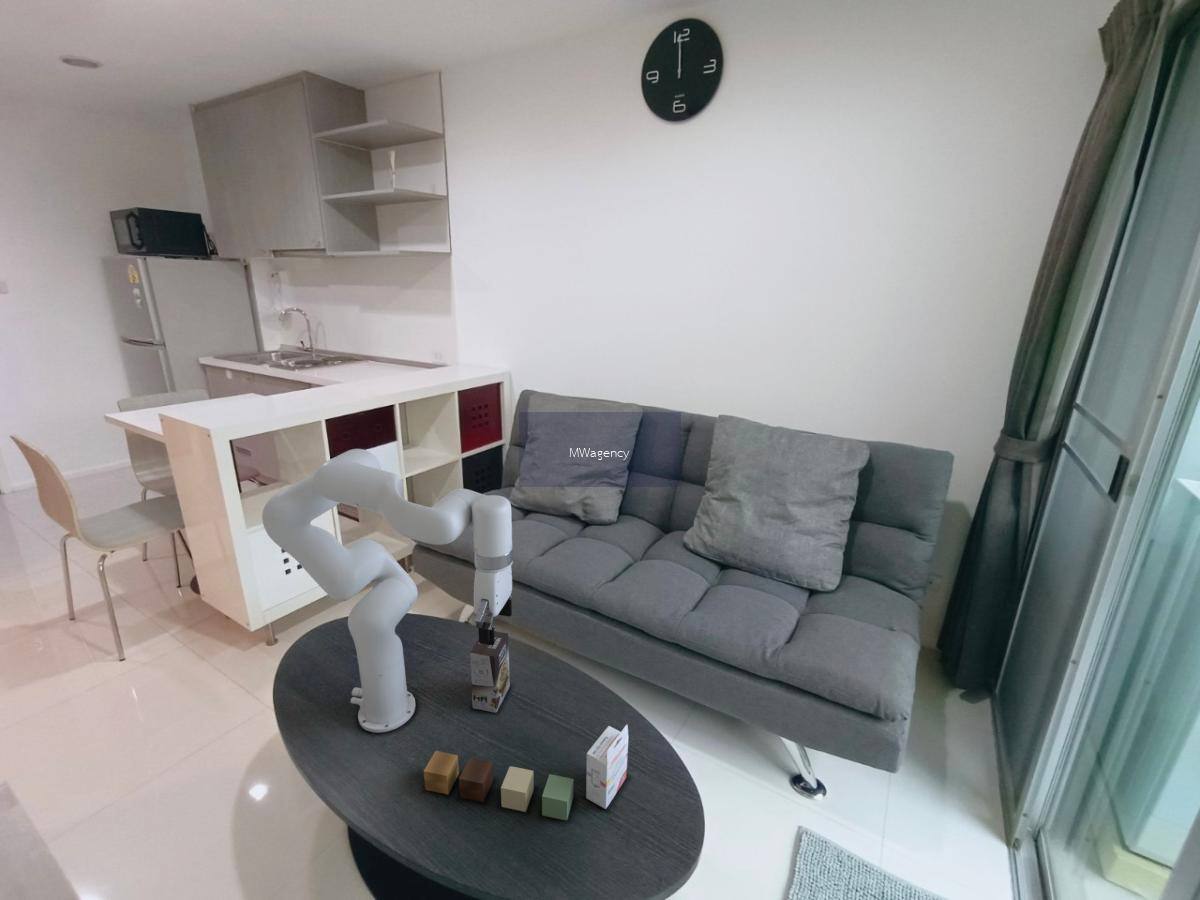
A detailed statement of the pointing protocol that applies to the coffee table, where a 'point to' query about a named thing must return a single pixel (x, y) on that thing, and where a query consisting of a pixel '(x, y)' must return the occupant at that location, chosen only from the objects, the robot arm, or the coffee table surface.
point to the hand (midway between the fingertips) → (496, 628)
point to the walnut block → (476, 779)
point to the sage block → (557, 797)
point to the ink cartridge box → (607, 766)
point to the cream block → (517, 788)
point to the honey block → (441, 772)
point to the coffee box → (490, 673)
